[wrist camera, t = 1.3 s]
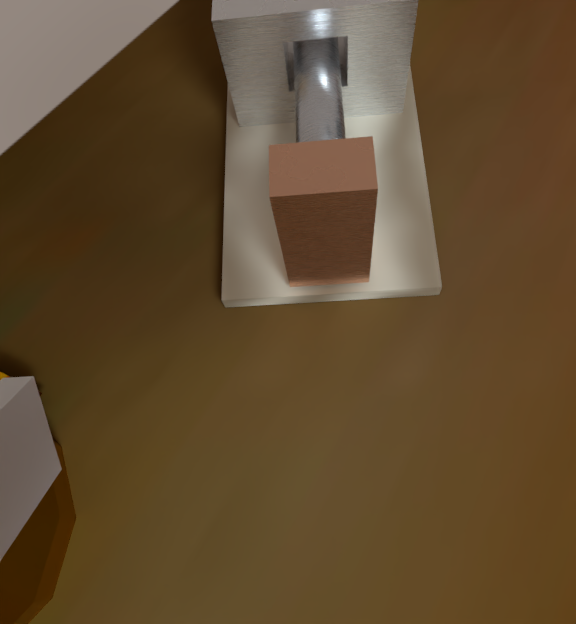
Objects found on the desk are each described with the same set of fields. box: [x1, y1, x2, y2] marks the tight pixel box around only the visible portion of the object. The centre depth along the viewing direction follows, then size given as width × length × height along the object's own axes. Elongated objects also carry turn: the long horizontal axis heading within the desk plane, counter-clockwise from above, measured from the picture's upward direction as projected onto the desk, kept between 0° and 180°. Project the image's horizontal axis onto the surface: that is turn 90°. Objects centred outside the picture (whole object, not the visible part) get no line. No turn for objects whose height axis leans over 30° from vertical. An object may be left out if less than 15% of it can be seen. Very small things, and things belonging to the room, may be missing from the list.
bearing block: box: [211, 0, 418, 127], centre depth 36 cm, size 12×8×9 cm, turn 91°
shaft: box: [269, 37, 378, 287], centre depth 32 cm, size 5×18×10 cm, turn 1°
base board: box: [222, 64, 442, 307], centre depth 39 cm, size 14×23×1 cm, turn 1°
